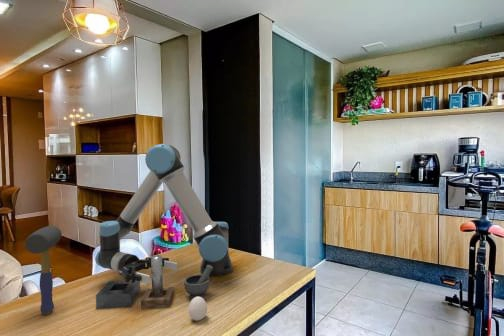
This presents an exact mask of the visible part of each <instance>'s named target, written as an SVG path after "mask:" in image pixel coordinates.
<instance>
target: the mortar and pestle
mask: <svg viewBox="0 0 504 336" xmlns="http://www.w3.org/2000/svg"><path fill="white" fill-rule="evenodd" d="M212 269H213V267H212V266H210V265H207V266H206V269H205V271H204V273H203V274H202V273H201V274H194V275H190V276H187V277H185V278H184V281H183V287H184V290H185V292H186V293H187V294H188V299H189V300H190V302H191V301H192V299H193V298H195V297H197V296H199V297H202V298H203V299H204V300H205V299H206V293H207V292H208V289H209V287H210V283H211V281H210V280H211V278H210V276H209V274H210V272H211V270H212Z"/></svg>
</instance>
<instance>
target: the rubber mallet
mask: <svg viewBox="0 0 504 336" xmlns="http://www.w3.org/2000/svg"><path fill="white" fill-rule="evenodd" d="M62 236H63V235H62V231H61V229H60V228H59V227H58V226H55V225H47V226H45V227H42V228H39V229H37V230H36V231H34V232H32V233H31V234H30V235H29V236H28V237H27V238H26V239H25V242H24V248H25V249H26V250H27V251H28V252H29V253H31V254H40V262H41V263H40V267H41V269H40V271H41V272H40V275H39V291H40V299H41V300H40V302H41V303H40V308H39V311H40V312H41V314H42V315H50V314H51V313H53V310H54V309H55V305H54V302H53V288H54V287H53V286H54V285H53V284H54V283H53V282H54V281H53V276H52V275H53V274H52V271H51V256H50V255H51V254H50V249H51V248H53V247H54V246H55V245H56V244H57V243H59V242H60V240H61V239H62Z"/></svg>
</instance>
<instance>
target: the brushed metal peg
mask: <svg viewBox="0 0 504 336" xmlns="http://www.w3.org/2000/svg"><path fill="white" fill-rule="evenodd" d="M150 258H151V268H150V271H151V275H150V276H151V288H152V298H157V297H164V296H163V288H164V274H163V272H164V271H163V268H164V267H162V258H163V255H162V254H155V255H151V256H150Z"/></svg>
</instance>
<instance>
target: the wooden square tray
mask: <svg viewBox="0 0 504 336" xmlns="http://www.w3.org/2000/svg"><path fill="white" fill-rule="evenodd" d="M174 295H175V287H172V286H171V287H169V286H168V287H167V286H166V287H163V296H164V297H157V298H152V287H150V288H147V289H146V291H145V292H144V294H143V296H142V298H141V299H140V310H147V309H148V310H150V309H151V310H152V309H165V308H166V309H167V308H170V307H171V303H172V302H173V299H174Z"/></svg>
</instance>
